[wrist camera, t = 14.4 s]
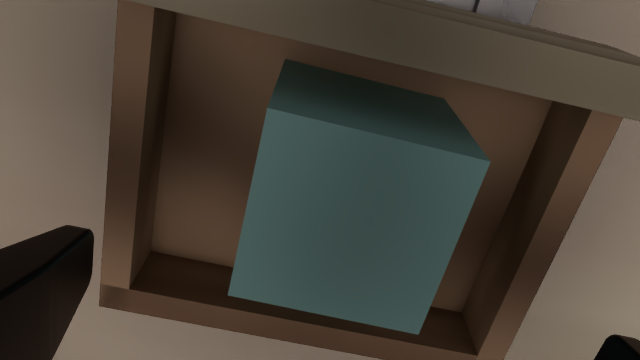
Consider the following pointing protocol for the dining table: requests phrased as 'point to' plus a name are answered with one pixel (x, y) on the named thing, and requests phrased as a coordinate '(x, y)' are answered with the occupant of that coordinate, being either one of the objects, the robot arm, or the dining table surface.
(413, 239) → the block
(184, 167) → the cart
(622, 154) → the dining table surface
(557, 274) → the dining table surface
